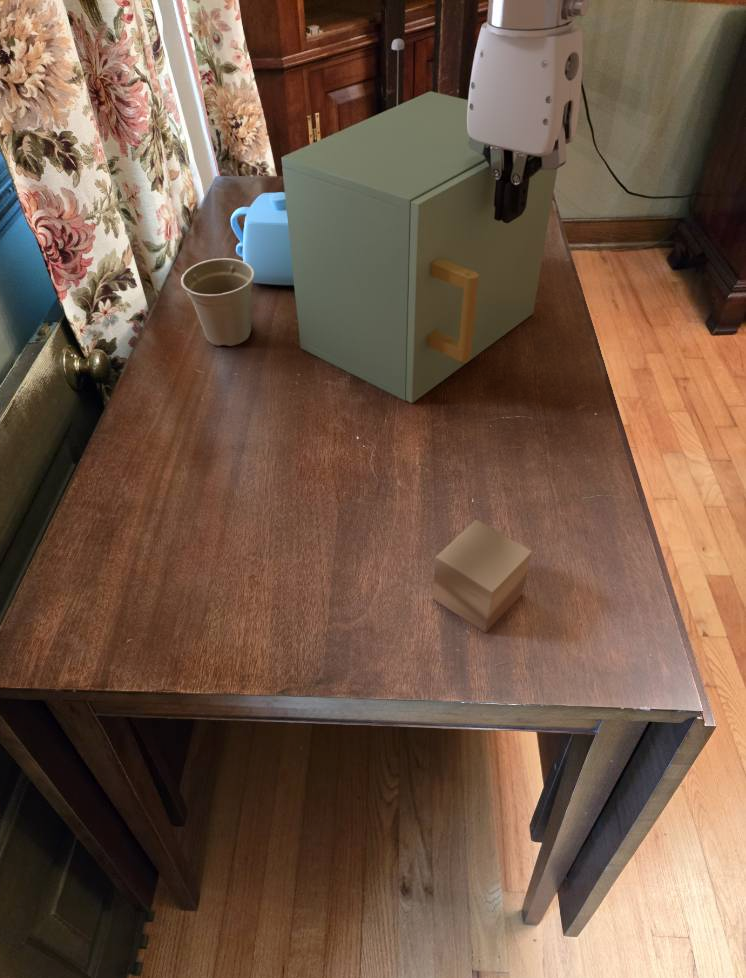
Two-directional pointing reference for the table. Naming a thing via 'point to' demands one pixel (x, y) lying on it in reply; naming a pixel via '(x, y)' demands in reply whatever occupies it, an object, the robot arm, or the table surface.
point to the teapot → (266, 239)
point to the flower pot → (221, 298)
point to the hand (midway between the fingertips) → (508, 217)
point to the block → (480, 575)
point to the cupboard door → (469, 272)
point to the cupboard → (367, 230)
